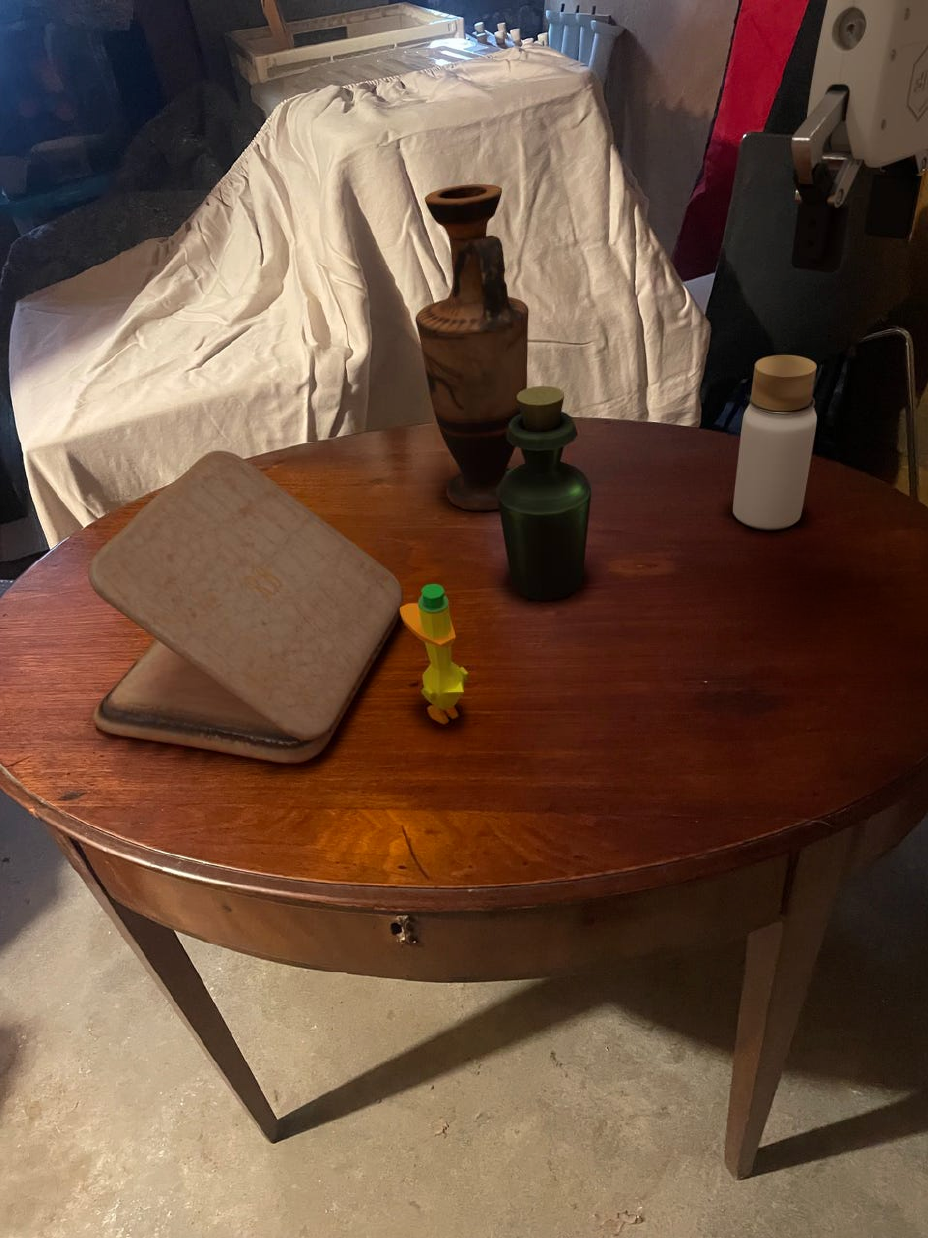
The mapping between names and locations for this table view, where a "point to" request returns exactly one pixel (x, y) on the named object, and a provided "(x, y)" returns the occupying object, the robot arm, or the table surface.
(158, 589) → the case
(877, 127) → the robot arm
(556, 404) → the potion bottle
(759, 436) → the can
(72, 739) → the table surface
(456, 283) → the vase
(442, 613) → the toy figure
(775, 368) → the cylinder
